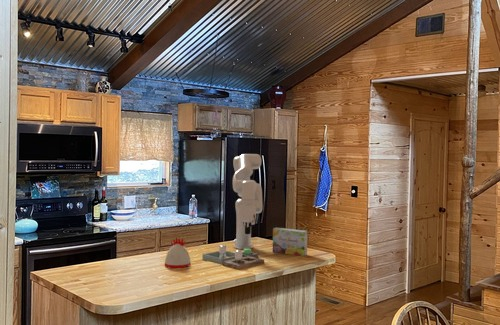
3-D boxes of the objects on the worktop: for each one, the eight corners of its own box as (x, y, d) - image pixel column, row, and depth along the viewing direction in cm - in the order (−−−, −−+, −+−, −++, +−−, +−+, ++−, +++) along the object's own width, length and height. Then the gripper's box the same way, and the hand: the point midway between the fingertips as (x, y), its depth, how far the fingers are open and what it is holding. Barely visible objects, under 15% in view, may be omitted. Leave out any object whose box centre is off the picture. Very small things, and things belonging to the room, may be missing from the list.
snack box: (272, 252, 300) (272, 228, 299) (275, 251, 305) (276, 227, 304) (304, 256, 290) (304, 231, 289) (307, 254, 295) (308, 230, 294)
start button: (241, 256, 282) (242, 249, 282) (247, 254, 285) (247, 248, 285) (247, 257, 279) (247, 250, 279) (252, 256, 282) (252, 249, 282)
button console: (236, 258, 282) (236, 253, 282) (247, 256, 288) (247, 251, 288) (247, 261, 276) (247, 256, 276) (258, 258, 282) (258, 253, 282)
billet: (217, 259, 276) (217, 245, 276) (222, 258, 279) (222, 244, 279) (222, 260, 273) (222, 246, 273) (227, 259, 276) (227, 245, 276)
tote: (202, 260, 276) (202, 254, 276) (223, 256, 288) (223, 250, 288) (221, 265, 265) (221, 259, 265) (242, 260, 276) (242, 254, 276)
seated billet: (233, 265, 261) (233, 250, 261) (238, 264, 264) (238, 249, 264) (238, 266, 259) (238, 251, 258) (243, 265, 262) (243, 250, 261)
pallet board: (222, 267, 261) (222, 261, 261) (248, 261, 276) (248, 256, 276) (238, 271, 253) (238, 265, 253) (264, 265, 267) (264, 259, 267)
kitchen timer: (185, 269, 256) (185, 240, 256) (160, 267, 259) (161, 239, 259) (193, 263, 270) (194, 236, 270) (170, 261, 273) (170, 235, 272)
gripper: (234, 201, 283) (234, 233, 284) (252, 203, 273) (252, 236, 273) (243, 200, 289) (243, 231, 289) (262, 202, 278) (261, 234, 279)
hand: (247, 233), depth 281 cm, fingers closed
